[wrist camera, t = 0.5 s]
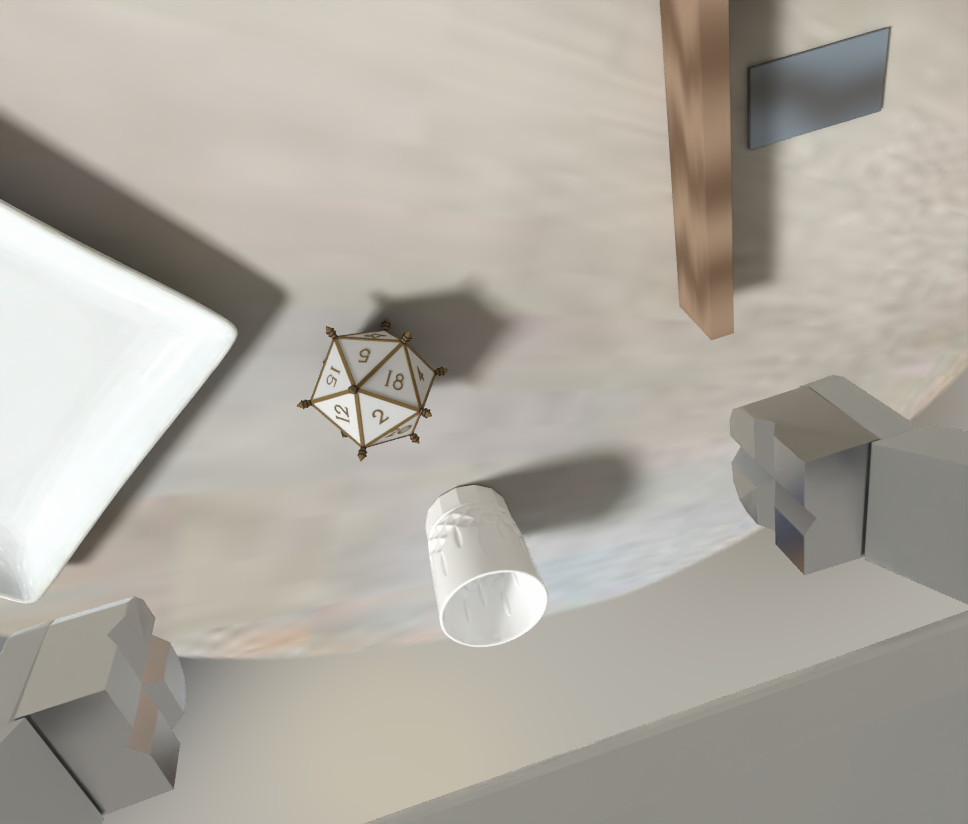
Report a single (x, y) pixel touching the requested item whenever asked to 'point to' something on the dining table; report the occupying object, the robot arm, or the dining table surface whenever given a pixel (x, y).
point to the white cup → (482, 569)
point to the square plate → (82, 388)
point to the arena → (771, 118)
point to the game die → (373, 387)
